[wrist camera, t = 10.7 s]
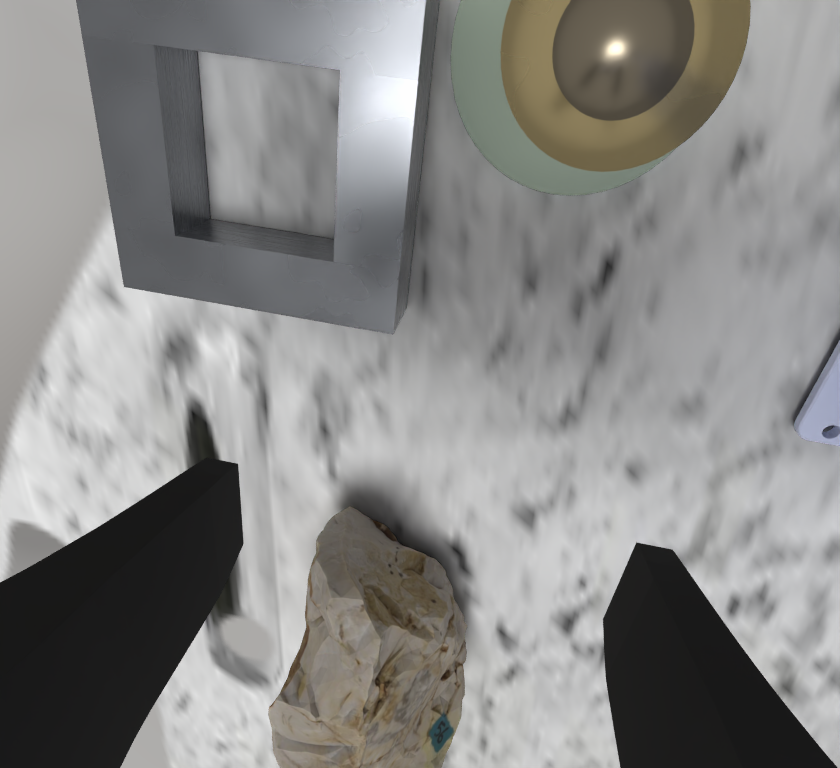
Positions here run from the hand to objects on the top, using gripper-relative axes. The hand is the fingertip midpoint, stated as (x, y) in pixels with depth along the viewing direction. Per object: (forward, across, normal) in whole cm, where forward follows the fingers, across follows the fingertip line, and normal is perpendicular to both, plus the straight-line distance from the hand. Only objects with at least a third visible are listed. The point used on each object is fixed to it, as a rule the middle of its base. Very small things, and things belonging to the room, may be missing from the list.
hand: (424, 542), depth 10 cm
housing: (+10, +7, -4) cm, 13 cm away
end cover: (+10, -2, -8) cm, 13 cm away
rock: (+11, +1, +14) cm, 18 cm away
